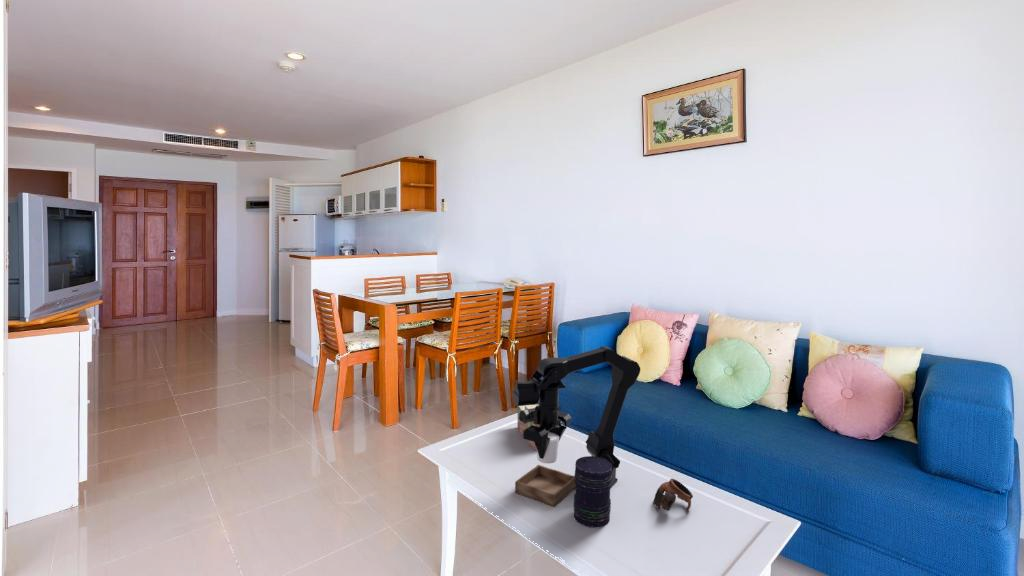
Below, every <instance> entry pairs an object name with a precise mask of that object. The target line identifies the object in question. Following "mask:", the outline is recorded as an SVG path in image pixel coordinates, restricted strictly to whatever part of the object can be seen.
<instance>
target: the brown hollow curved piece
mask: <svg viewBox="0 0 1024 576" xmlns="http://www.w3.org/2000/svg"><path fill="white" fill-rule="evenodd" d="M693 497H694V495H693V494H692V492H691V491H690V489H688V488H687V487H686V486H685V485H684V484H683V483H682V482H680V481H679V480H678V479H677V480H676V479H674V478H670V479H669V481H665V482H663V483H661V484H660V486H659V487H658V488H657V490H656V492H655V495H654V499H653V504H654V506H655V507H656V508H657V509H659V510H660V509H661V508H662V509H663V510H665V511H670V510H671V508H672V506H673V505H674V503H675V502H676V499H677V498H678V499H680V500H682V501H684V502H685V503H687V507H686V511H687V512H689V511H690V509H691V507H692V499H693Z"/></svg>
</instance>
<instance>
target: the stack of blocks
mask: <svg viewBox="0 0 1024 576" xmlns="http://www.w3.org/2000/svg"><path fill="white" fill-rule="evenodd" d="M538 405H539V403H537V404H535V405H526V406H516V407H517V409H516V410H517V429H518V430H519V431H520V433H521V434H522V435H523V431H524V430H525V429H526V428H528V427H530V426H532V425H533V426H537V427H539V424H534V421H533V422H527V423H523V422H521V421H520V419H519V413H520V411H522V410H526V409H531V408H535V407H536V406H538ZM547 432H549V431H547ZM526 441H527V442H528V443H529V446H530V447H531V448H532V449H533V451H537V448H536V445H535V442H533V441H530V440H526Z"/></svg>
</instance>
